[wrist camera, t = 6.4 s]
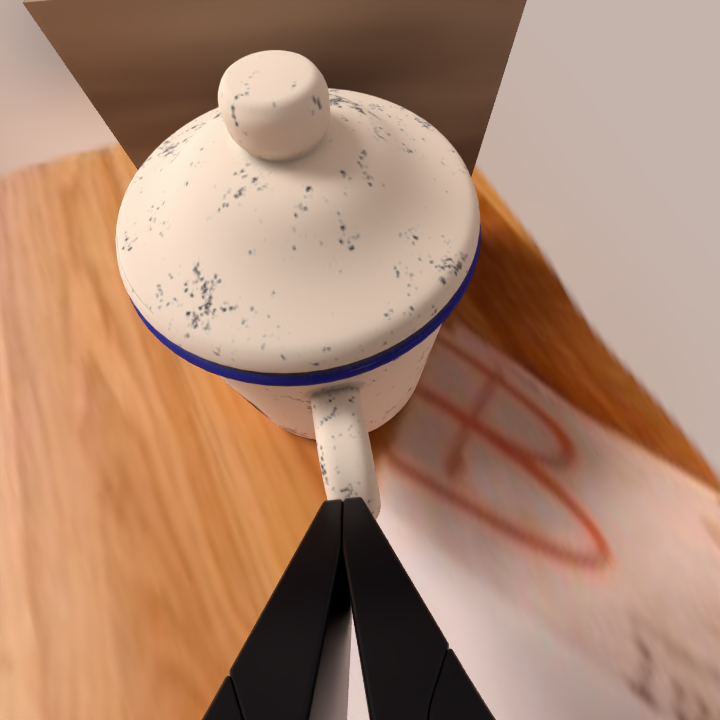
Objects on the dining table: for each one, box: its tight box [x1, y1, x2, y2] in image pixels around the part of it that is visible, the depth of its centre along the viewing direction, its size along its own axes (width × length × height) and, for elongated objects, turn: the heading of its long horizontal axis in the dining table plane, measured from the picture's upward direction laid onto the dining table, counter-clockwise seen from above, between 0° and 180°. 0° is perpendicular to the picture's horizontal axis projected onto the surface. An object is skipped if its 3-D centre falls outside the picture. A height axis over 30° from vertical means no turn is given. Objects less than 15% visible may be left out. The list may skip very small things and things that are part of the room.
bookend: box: [23, 0, 527, 176], centre depth 14 cm, size 2×13×11 cm, turn 96°
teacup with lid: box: [116, 50, 481, 520], centre depth 11 cm, size 12×9×12 cm
